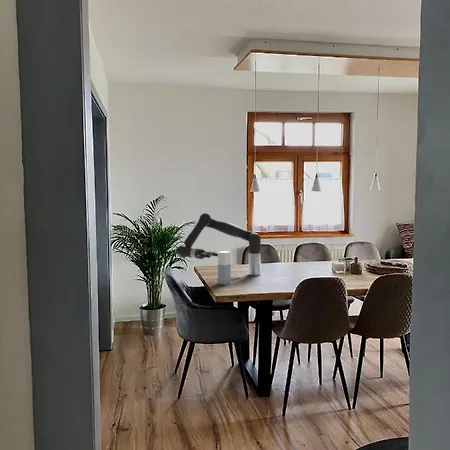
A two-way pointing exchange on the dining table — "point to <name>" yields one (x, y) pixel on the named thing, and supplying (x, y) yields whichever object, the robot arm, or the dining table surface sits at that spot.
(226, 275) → the grey piece
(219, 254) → the lid
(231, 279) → the mat
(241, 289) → the dining table surface
